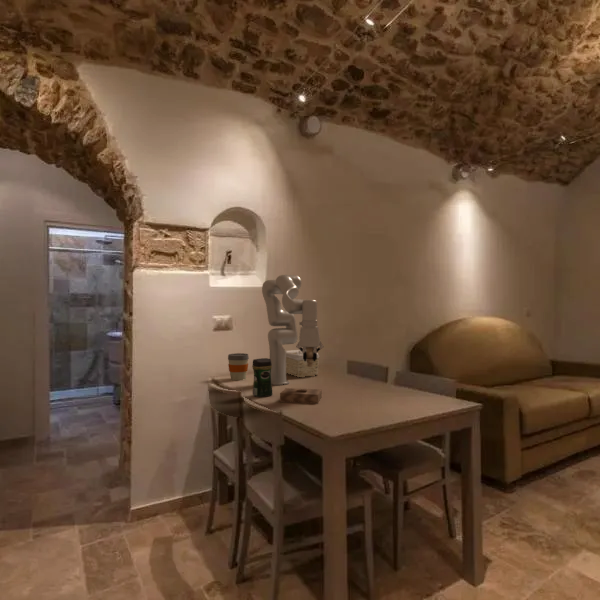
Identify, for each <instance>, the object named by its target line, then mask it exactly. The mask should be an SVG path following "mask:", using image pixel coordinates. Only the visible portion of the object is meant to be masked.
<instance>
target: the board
mask: <svg viewBox="0 0 600 600" xmlns="http://www.w3.org/2000/svg"><path fill="white" fill-rule="evenodd" d="M322 391H323V390H322V389H319V388H293V387H291V388H290V387H285V388H284V389H283V390H281V392H280V393H279V402H280V403H296V404H297V403H299V404H300V403H301V404H319V403H320V401H321V400H320V399H322V398H323V397H322V394H323V393H322Z"/></svg>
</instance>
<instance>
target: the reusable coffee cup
mask: <svg viewBox="0 0 600 600" xmlns="http://www.w3.org/2000/svg"><path fill="white" fill-rule="evenodd" d="M249 359H250V358H249V353H241V352H240V353H239V352H237V353H235V352H234V353H229V354H228V355H227V361H228V365H227V366H228V372H229V374H230V381H244V380H243V379H245V380H246V379H247V372H248V368H249Z"/></svg>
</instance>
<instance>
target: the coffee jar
mask: <svg viewBox="0 0 600 600" xmlns="http://www.w3.org/2000/svg"><path fill="white" fill-rule="evenodd" d="M251 368H252V369H253V382H252V395H253V397H259V398H263V397H270V396H272V395H273V385H272V384H271V368H272V363H271V359H270V358H268V357H265V358H263V357H262V358H255V359H253V360H252V367H251Z"/></svg>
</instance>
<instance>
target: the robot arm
mask: <svg viewBox="0 0 600 600" xmlns="http://www.w3.org/2000/svg"><path fill="white" fill-rule="evenodd" d="M301 287H302V279H301V278H300V277H299V275H295V274H280V275H278V276H277V277H276V278H275V279H268V280H265V281H264V282H263V284H262V286H261V294H262V297H263V300H264V303H265V307H266V312H267V320H268V324H269V326H270V327H275V328H272V329H270V330H269V331H268V332H267V340H268V344H269V347H268V348H269V349H268V350H269V359H271V363H272V368H271V384H272V386H284V385H288V384H289V383H290V381H289V380H288V379H287V373H286V351H287V350H286V349H285V348H284V347H283V346H284V345H295V344H296V343H297V344H296V345H295V346H296V347H295V348H297V350H301V351H302V353H303V359H304V361H306V360H307V359H306V347H313V348H314V354H313V361H316V360H317V353H318V352H319V351H320V350H322V349H323V348H324V344H323V343H322V341H321V334H320V328H319V326H318V302H317V300H315V299H302V298H300V299H298V298H297V299H296V297H297V296H298V295H299V290H300V289H301ZM276 295H282V296H281V297H282V298H281V301H280V299H279V298H278V297H277V296H276ZM281 304H282V305H281ZM282 306H283V307H282ZM282 308H283V309H282ZM295 315H302V316H301V317H302V321H299V323H298V324H299V326H301V327H300V330H299V337H298V330H297V329H298V328H297V323H296V316H295ZM279 327H280V328H279ZM298 338H299V340H298ZM283 384H284V385H283Z"/></svg>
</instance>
